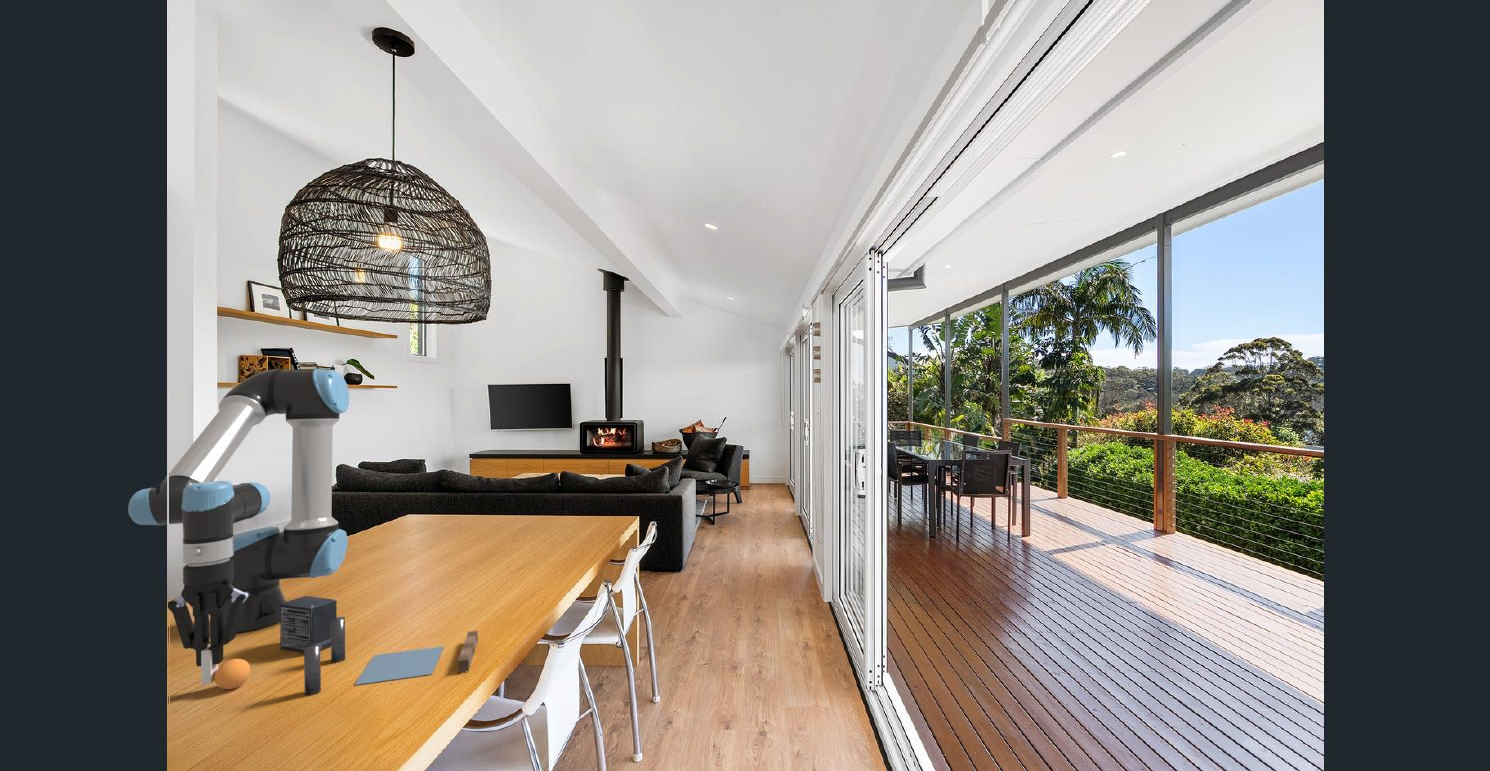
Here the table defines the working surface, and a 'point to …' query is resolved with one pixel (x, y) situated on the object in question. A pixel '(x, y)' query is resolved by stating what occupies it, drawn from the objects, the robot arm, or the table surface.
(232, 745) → the table surface
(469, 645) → the stopper wall
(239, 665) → the ball
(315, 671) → the post
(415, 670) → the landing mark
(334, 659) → the post
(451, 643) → the table surface
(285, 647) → the small box
